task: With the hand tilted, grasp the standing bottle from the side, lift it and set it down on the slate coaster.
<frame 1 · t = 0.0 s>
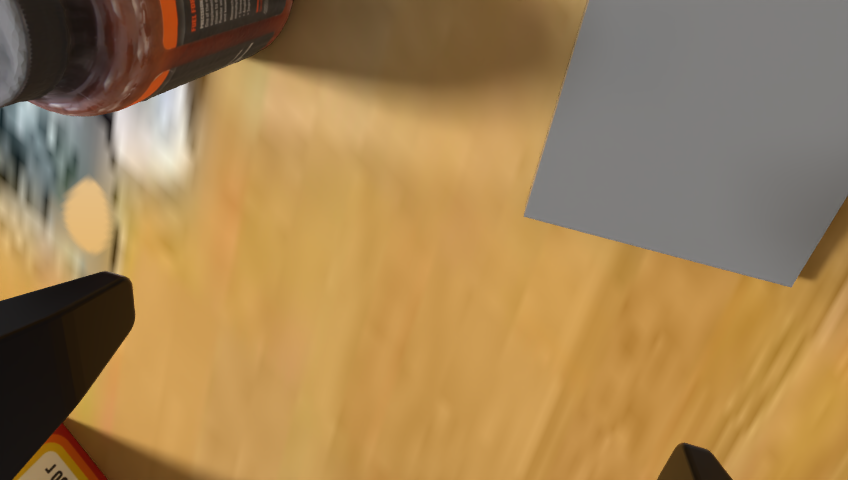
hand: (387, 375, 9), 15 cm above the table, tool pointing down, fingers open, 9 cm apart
baking soda box: (64, 466, 40), on the table
coaster: (705, 116, 20), on the table
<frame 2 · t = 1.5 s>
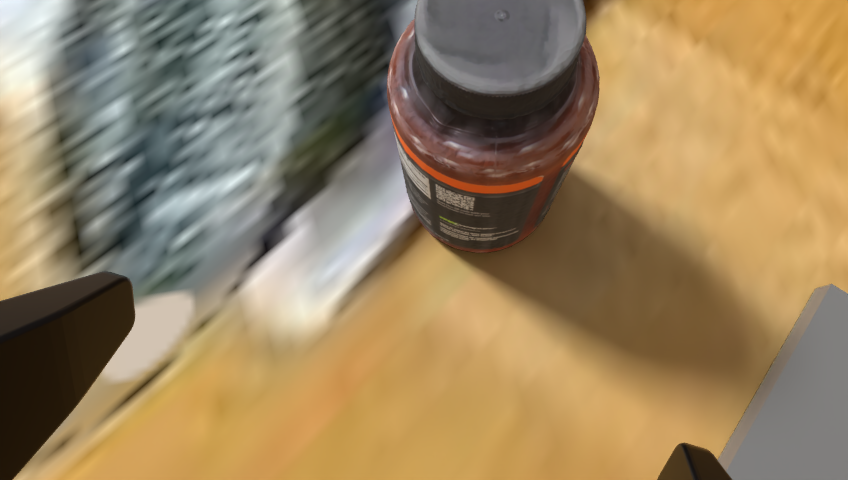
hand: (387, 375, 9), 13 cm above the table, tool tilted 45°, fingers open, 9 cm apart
supplement bottle: (477, 188, 24), on the table
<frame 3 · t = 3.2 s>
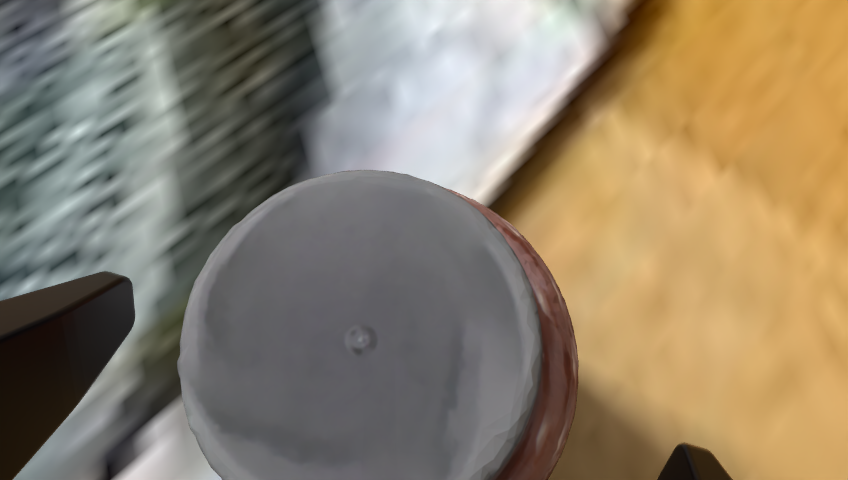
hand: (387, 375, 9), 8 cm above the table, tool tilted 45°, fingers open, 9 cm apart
supplement bottle: (415, 382, 17), on the table
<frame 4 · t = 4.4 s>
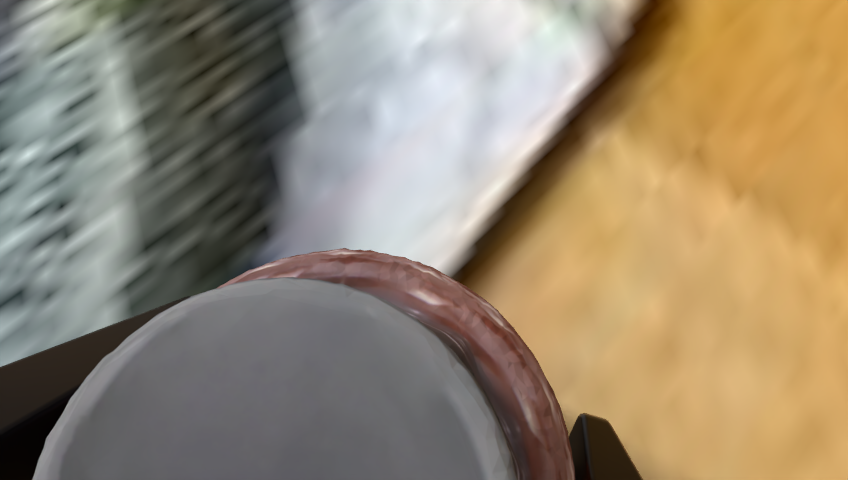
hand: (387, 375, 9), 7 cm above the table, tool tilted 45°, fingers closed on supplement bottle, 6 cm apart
supplement bottle: (396, 438, 15), on the table, touching gripper
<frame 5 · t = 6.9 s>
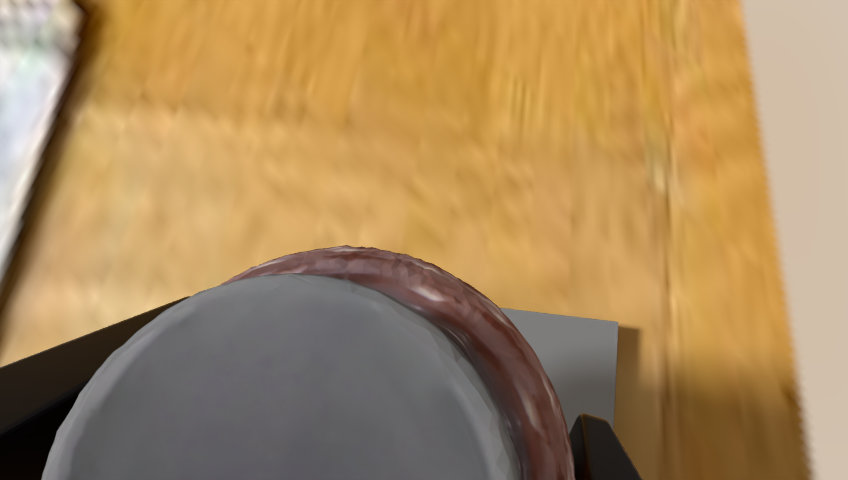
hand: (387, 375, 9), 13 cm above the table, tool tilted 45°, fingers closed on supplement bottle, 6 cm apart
supplement bottle: (395, 434, 16), point 6 cm above the table, touching gripper
coaster: (466, 444, 21), on the table
when the fingers open (9 cm above the table, at t = 9.0 s): supplement bottle drops 1 cm, resting on coaster.
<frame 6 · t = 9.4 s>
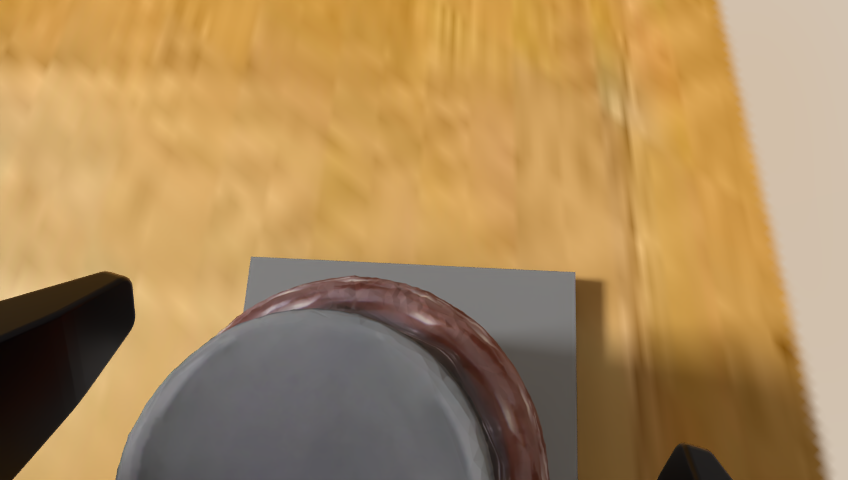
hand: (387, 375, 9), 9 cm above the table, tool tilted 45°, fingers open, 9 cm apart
supplement bottle: (397, 439, 17), point 1 cm above the table, touching coaster
coaster: (402, 433, 18), on the table
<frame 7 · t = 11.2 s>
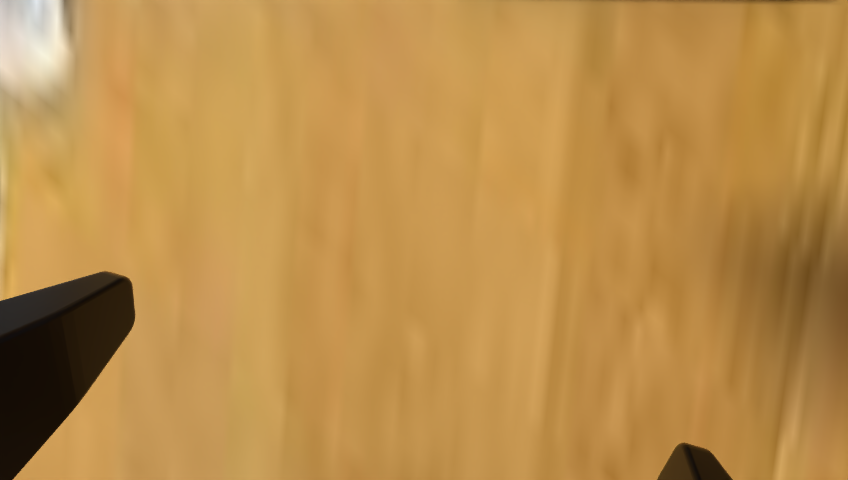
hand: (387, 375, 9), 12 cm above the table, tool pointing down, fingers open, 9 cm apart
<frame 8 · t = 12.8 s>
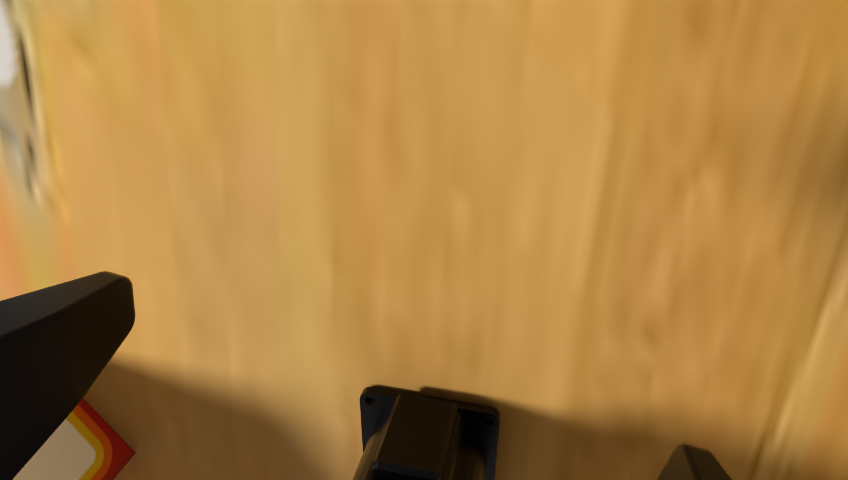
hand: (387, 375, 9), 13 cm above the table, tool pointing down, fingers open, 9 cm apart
baking soda box: (49, 406, 35), on the table
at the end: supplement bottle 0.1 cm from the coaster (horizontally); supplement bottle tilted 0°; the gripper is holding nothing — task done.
